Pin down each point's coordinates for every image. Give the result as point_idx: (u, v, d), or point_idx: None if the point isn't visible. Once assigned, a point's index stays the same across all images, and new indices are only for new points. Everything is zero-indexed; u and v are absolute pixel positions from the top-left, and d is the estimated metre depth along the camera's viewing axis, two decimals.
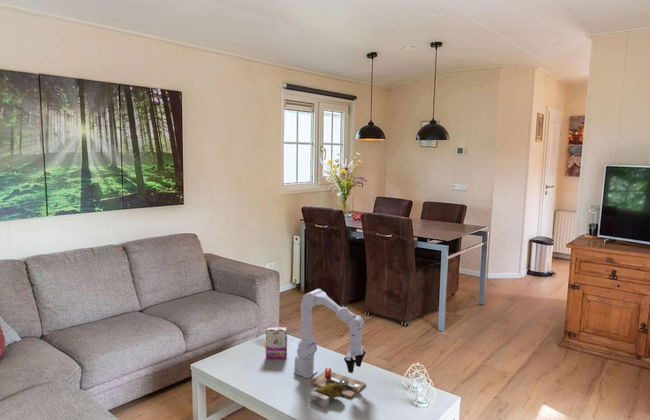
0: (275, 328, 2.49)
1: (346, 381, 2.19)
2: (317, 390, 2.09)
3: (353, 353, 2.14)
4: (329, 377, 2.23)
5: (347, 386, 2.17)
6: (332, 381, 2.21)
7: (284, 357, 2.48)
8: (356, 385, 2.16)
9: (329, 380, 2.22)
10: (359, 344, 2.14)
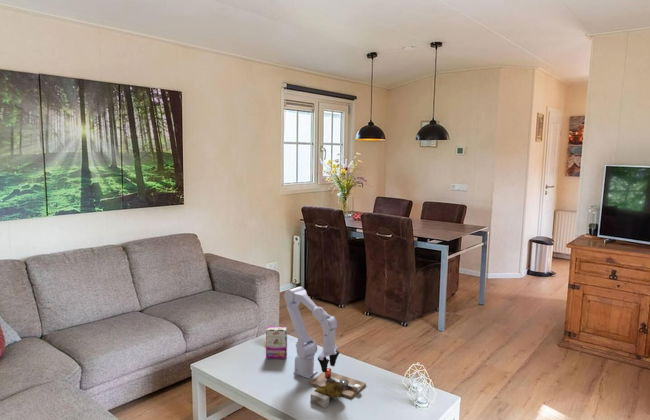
0: (275, 328, 2.49)
1: (346, 381, 2.19)
2: (317, 390, 2.09)
3: (326, 353, 2.19)
4: (329, 377, 2.23)
5: (347, 386, 2.17)
6: (332, 381, 2.21)
7: (284, 357, 2.48)
8: (356, 385, 2.16)
9: (329, 380, 2.22)
10: (332, 344, 2.20)
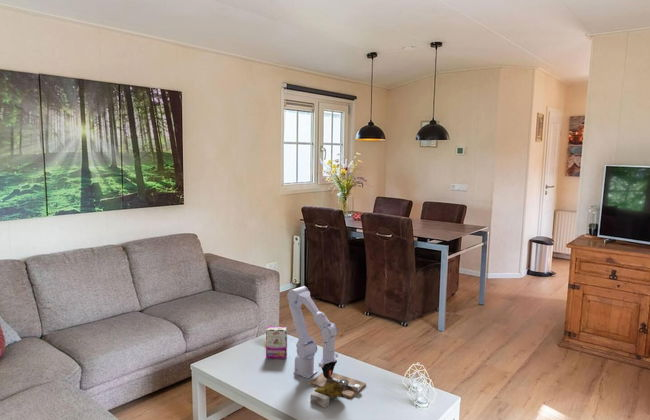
0: (275, 328, 2.49)
1: (346, 381, 2.19)
2: (317, 390, 2.09)
3: (326, 360, 2.20)
4: (329, 377, 2.23)
5: (347, 386, 2.17)
6: (332, 381, 2.21)
7: (284, 357, 2.48)
8: (356, 385, 2.16)
9: (329, 380, 2.22)
10: (332, 351, 2.20)
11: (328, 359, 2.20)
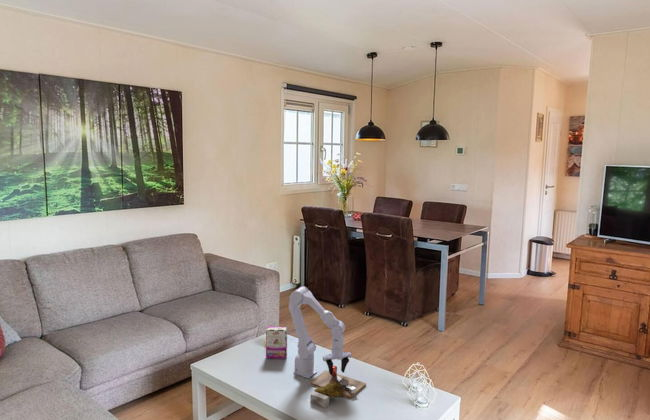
0: (275, 328, 2.49)
1: (346, 382, 2.19)
2: (317, 390, 2.09)
3: (332, 356, 2.24)
4: (334, 374, 2.25)
5: (345, 386, 2.17)
6: (335, 379, 2.24)
7: (284, 357, 2.48)
8: (352, 387, 2.14)
9: (333, 377, 2.25)
10: (337, 349, 2.23)
11: (333, 355, 2.24)
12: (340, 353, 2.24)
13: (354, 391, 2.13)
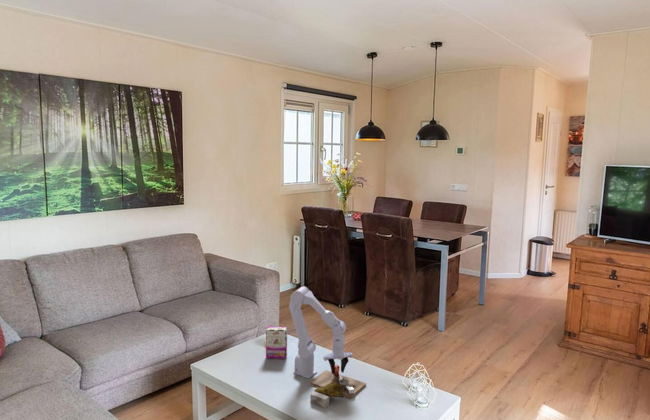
0: (275, 328, 2.49)
1: (346, 382, 2.19)
2: (317, 390, 2.09)
3: (333, 356, 2.25)
4: (335, 374, 2.26)
5: (344, 386, 2.17)
6: (336, 378, 2.24)
7: (284, 357, 2.48)
8: (350, 388, 2.13)
9: (335, 377, 2.26)
10: (338, 349, 2.23)
11: (334, 355, 2.24)
12: (341, 353, 2.24)
13: (352, 392, 2.12)
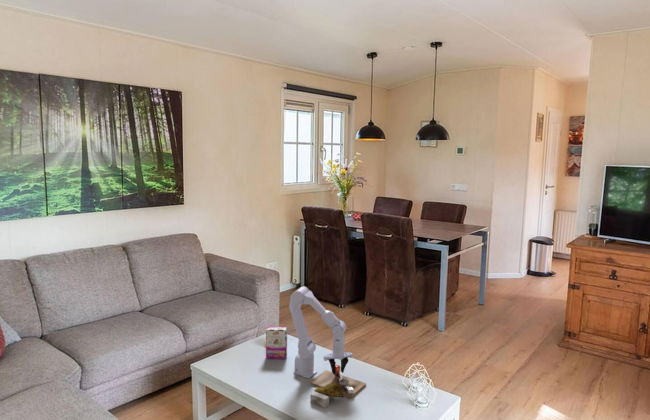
0: (275, 328, 2.49)
1: (346, 382, 2.19)
2: (317, 390, 2.09)
3: (333, 356, 2.25)
4: (336, 374, 2.26)
5: (343, 386, 2.17)
6: (337, 378, 2.24)
7: (284, 357, 2.48)
8: (349, 388, 2.13)
9: (335, 377, 2.26)
10: (338, 349, 2.23)
11: (334, 355, 2.24)
12: (341, 353, 2.24)
13: (351, 392, 2.12)
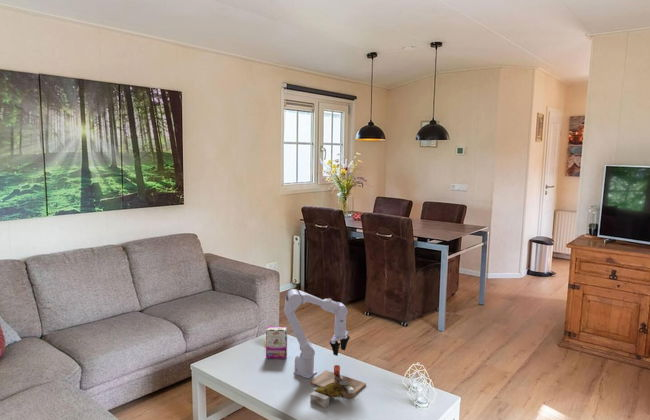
0: (275, 328, 2.49)
1: (346, 382, 2.19)
2: (317, 390, 2.09)
3: (338, 337, 2.32)
4: (336, 374, 2.26)
5: (343, 386, 2.17)
6: (337, 378, 2.24)
7: (284, 357, 2.48)
8: (349, 388, 2.13)
9: (335, 377, 2.26)
10: (343, 329, 2.32)
11: (340, 336, 2.32)
12: (345, 332, 2.33)
13: (351, 392, 2.12)
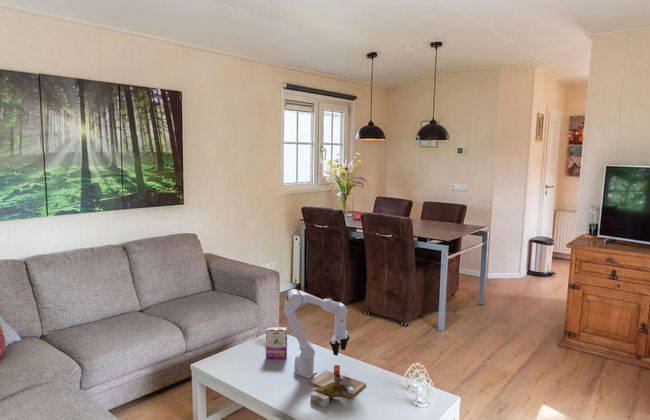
0: (275, 328, 2.49)
1: (346, 382, 2.19)
2: (317, 390, 2.09)
3: (338, 337, 2.32)
4: (336, 374, 2.26)
5: (343, 386, 2.17)
6: (337, 378, 2.24)
7: (284, 357, 2.48)
8: (349, 388, 2.13)
9: (335, 377, 2.26)
10: (343, 329, 2.32)
11: (340, 336, 2.32)
12: (345, 332, 2.34)
13: (351, 392, 2.12)
